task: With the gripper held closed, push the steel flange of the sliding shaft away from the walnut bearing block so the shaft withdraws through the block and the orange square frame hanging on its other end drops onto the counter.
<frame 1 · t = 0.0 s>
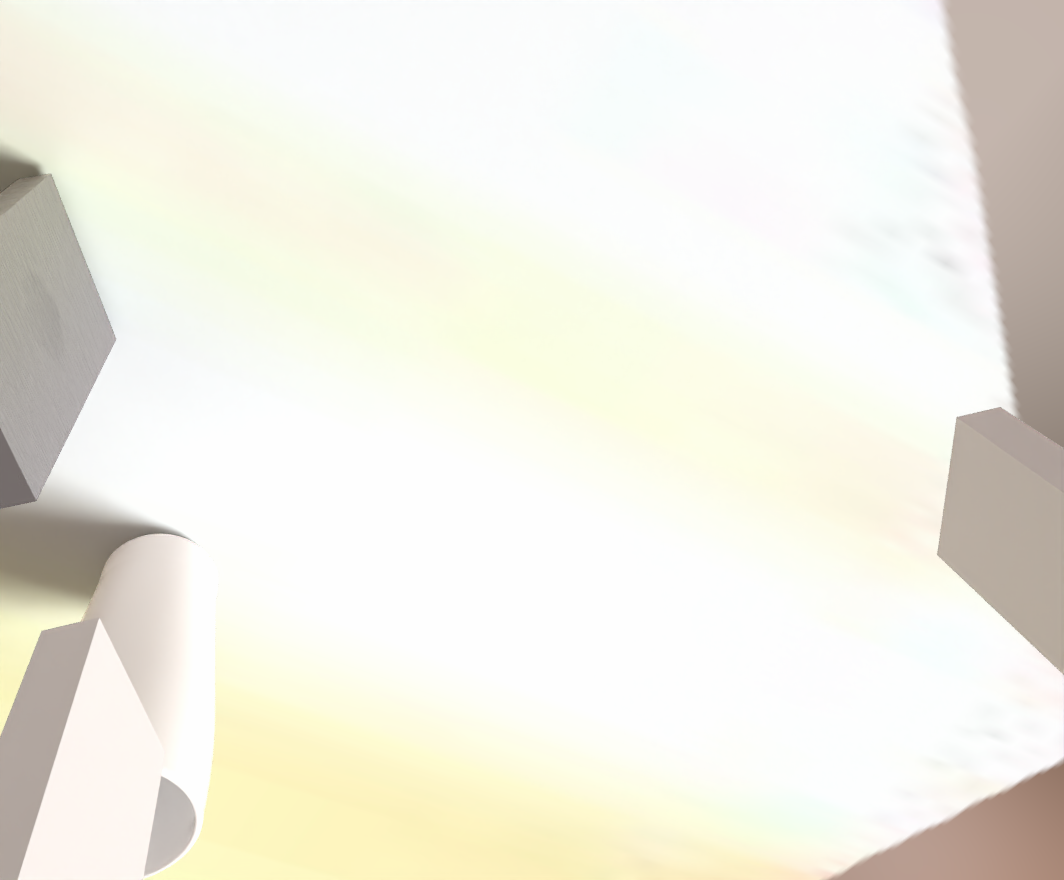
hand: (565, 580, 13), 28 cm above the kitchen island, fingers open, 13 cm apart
drinking glass: (163, 570, 44), on the kitchen island
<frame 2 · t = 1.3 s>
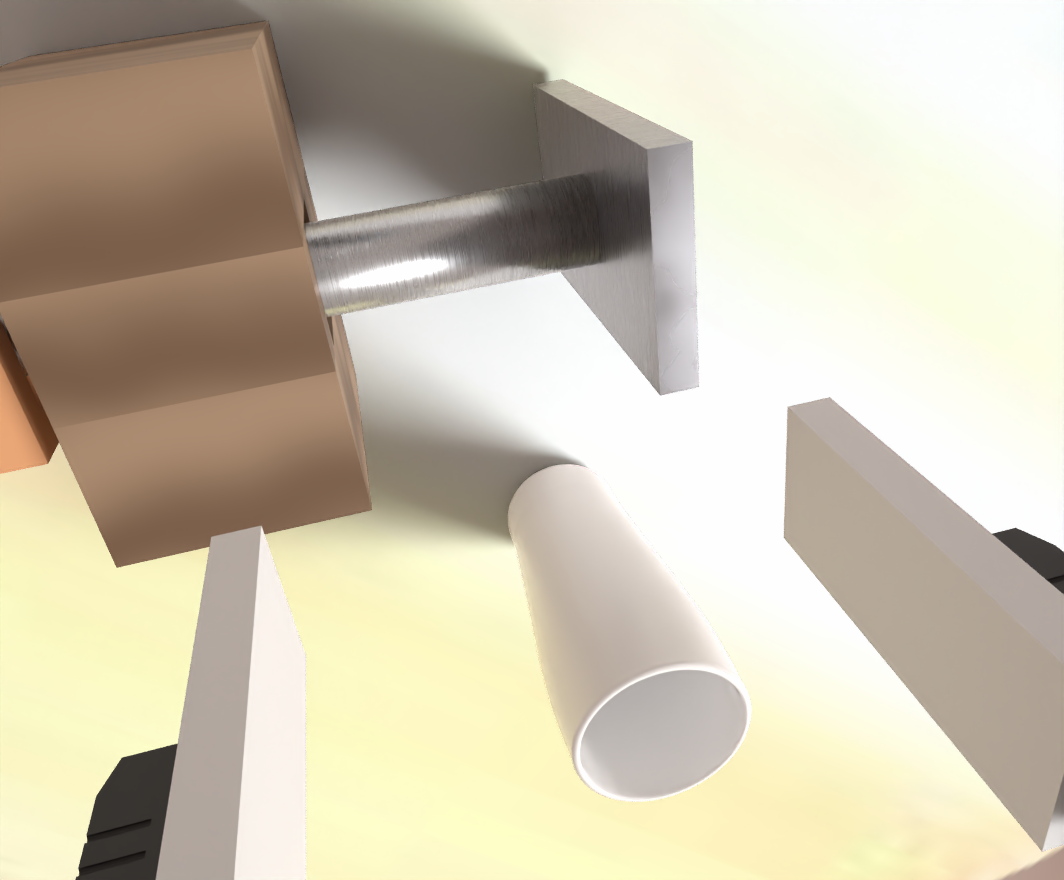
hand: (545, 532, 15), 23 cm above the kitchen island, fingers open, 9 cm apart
drinking glass: (556, 503, 43), on the kitchen island
bearing block: (211, 234, 34), on the kitchen island
shaft: (258, 281, 28), point 7 cm above the kitchen island, slide at 0.0 cm, touching orange square frame
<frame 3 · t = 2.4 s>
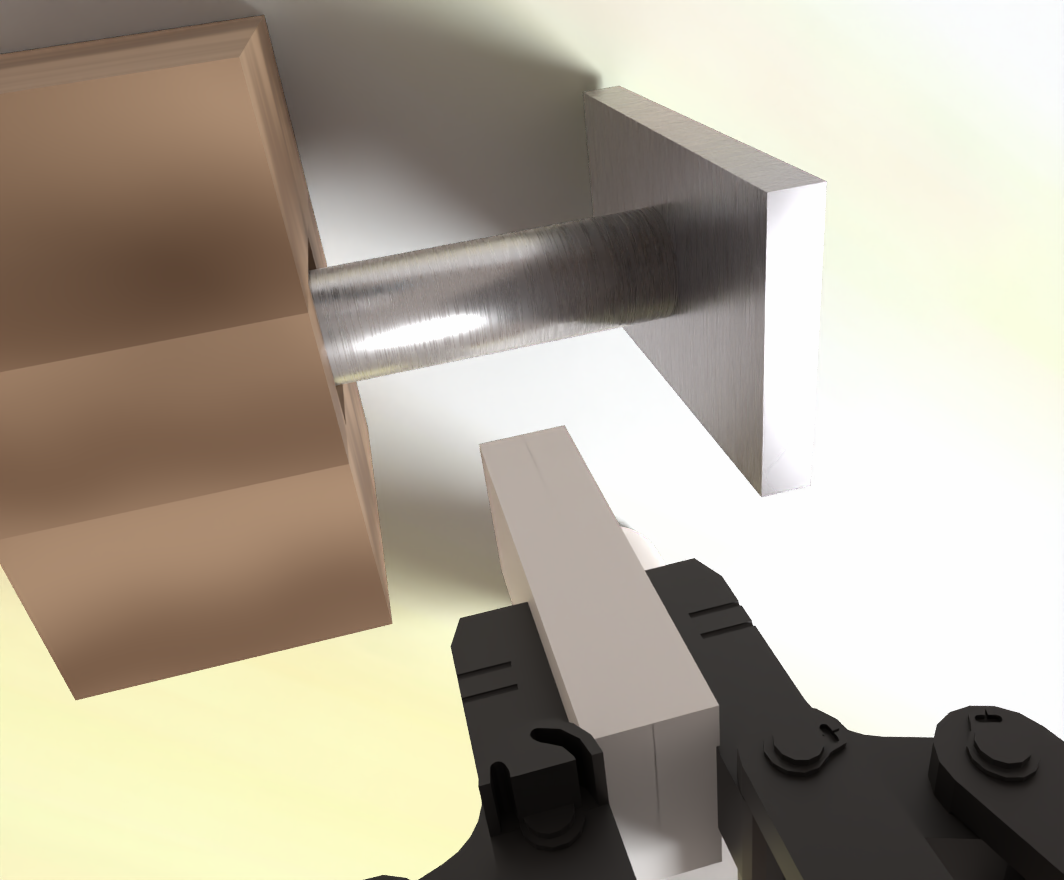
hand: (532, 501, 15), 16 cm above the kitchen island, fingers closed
drinking glass: (596, 567, 38), on the kitchen island
bearing block: (197, 270, 28), on the kitchen island
shaft: (252, 342, 22), point 7 cm above the kitchen island, slide at 0.0 cm, touching orange square frame
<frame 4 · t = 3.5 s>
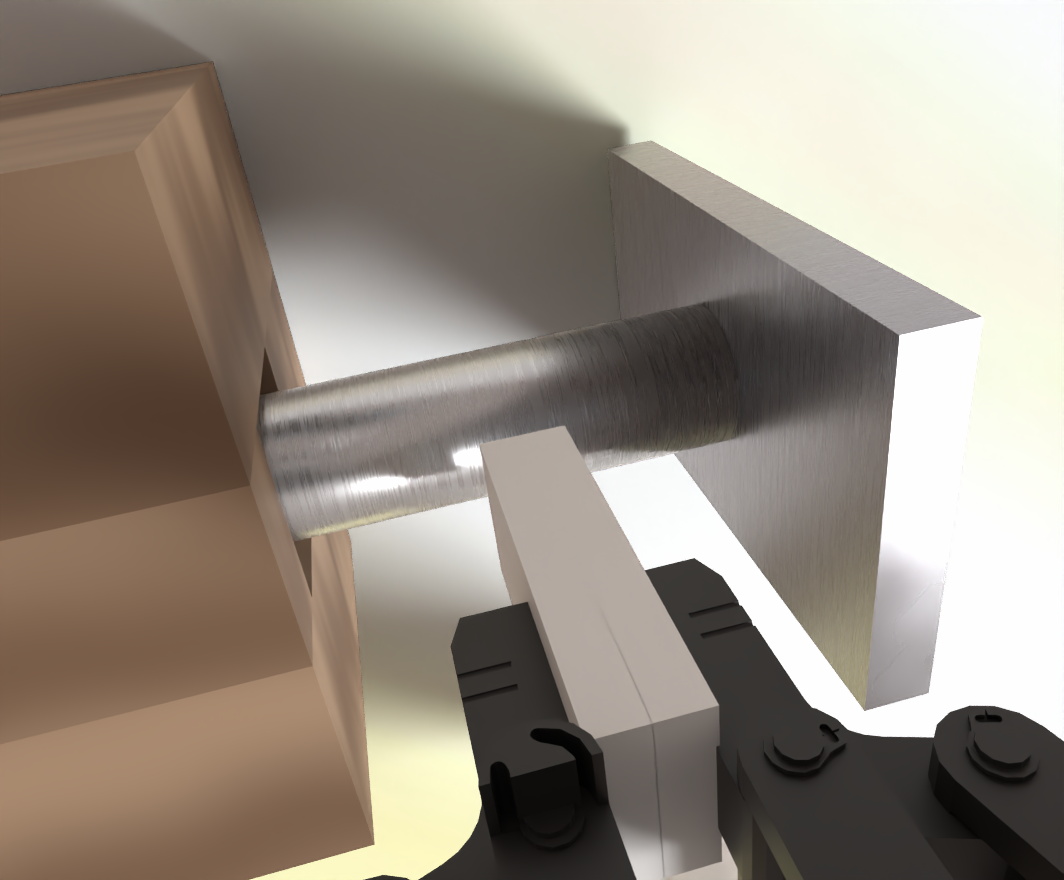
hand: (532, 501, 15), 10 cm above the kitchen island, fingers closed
drinking glass: (618, 681, 33), on the kitchen island
bearing block: (139, 367, 23), on the kitchen island
shaft: (191, 487, 17), point 7 cm above the kitchen island, slide at 0.0 cm, touching orange square frame
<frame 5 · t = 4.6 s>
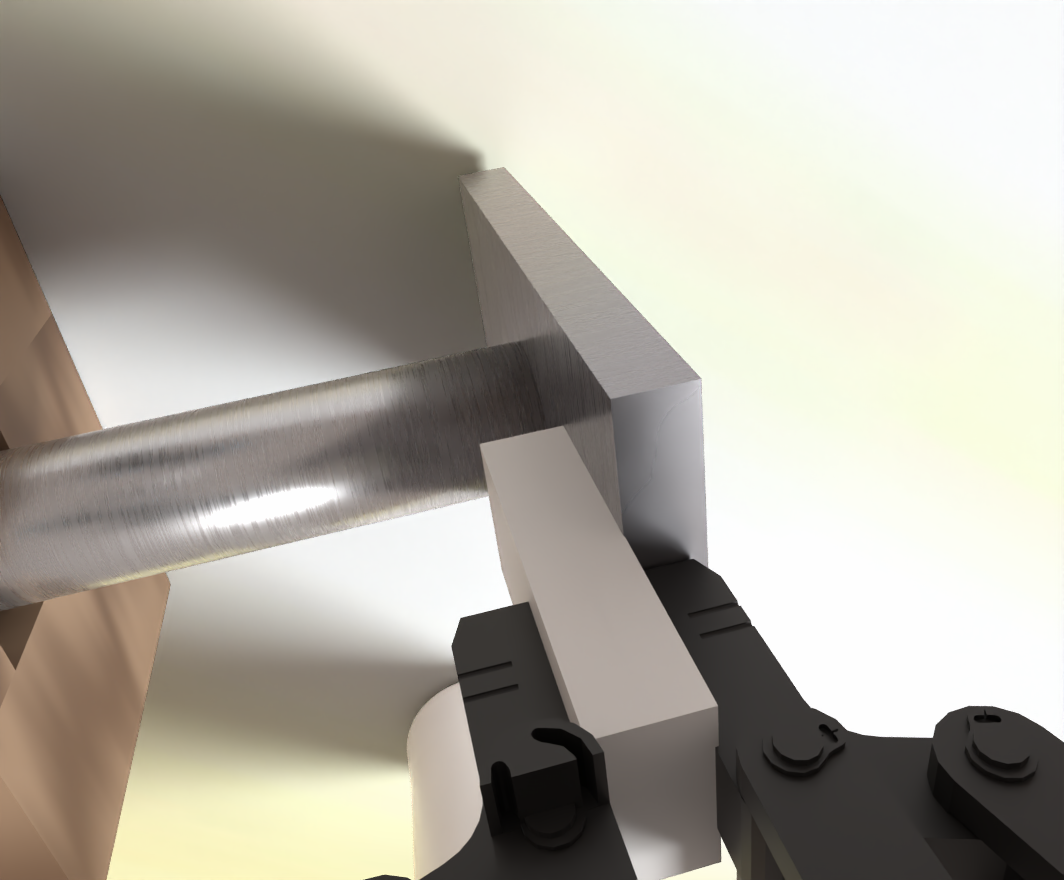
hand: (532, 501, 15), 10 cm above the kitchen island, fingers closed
drinking glass: (477, 719, 32), on the kitchen island
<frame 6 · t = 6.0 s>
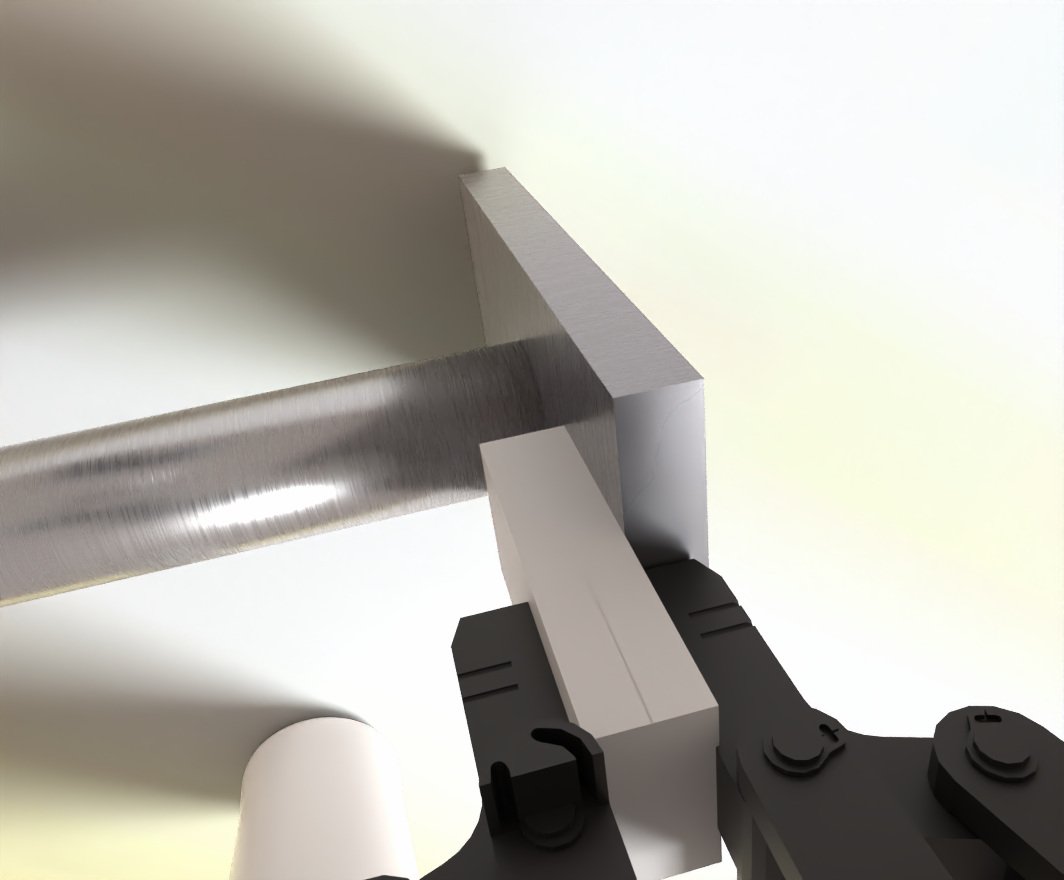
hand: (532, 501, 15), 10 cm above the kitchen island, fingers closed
drinking glass: (321, 759, 31), on the kitchen island
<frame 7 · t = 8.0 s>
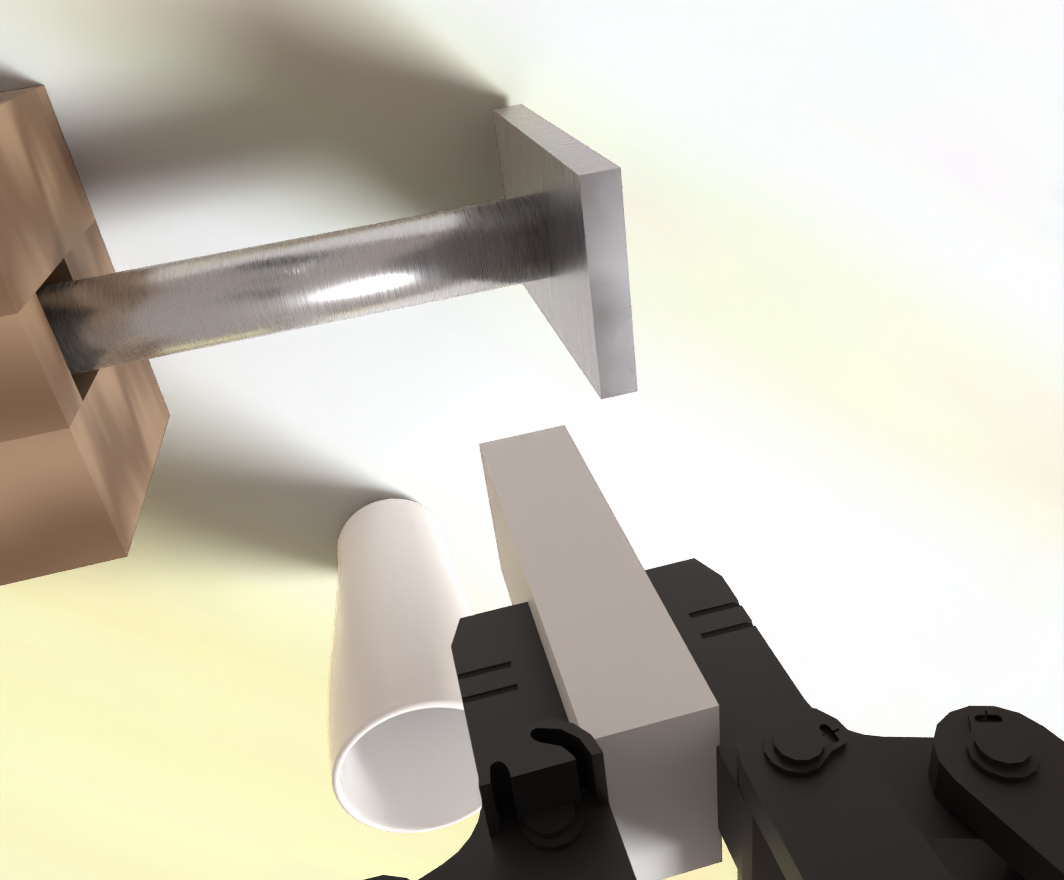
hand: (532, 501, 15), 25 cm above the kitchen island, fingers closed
drinking glass: (390, 535, 45), on the kitchen island
bearing block: (9, 285, 35), on the kitchen island
shaft: (233, 296, 30), point 7 cm above the kitchen island, slide at 7.2 cm
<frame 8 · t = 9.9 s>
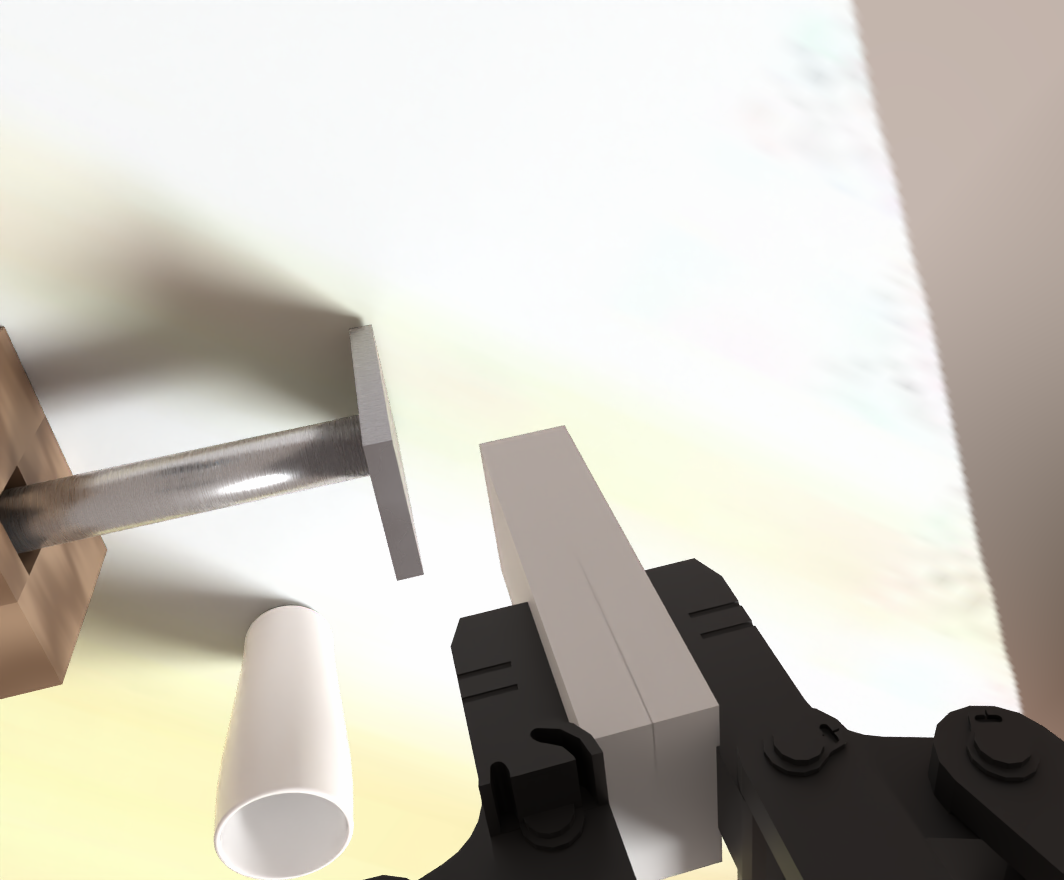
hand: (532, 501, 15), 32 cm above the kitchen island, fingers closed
drinking glass: (289, 632, 56), on the kitchen island
shaft: (140, 493, 41), point 7 cm above the kitchen island, slide at 7.2 cm
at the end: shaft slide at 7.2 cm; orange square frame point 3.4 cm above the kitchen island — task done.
